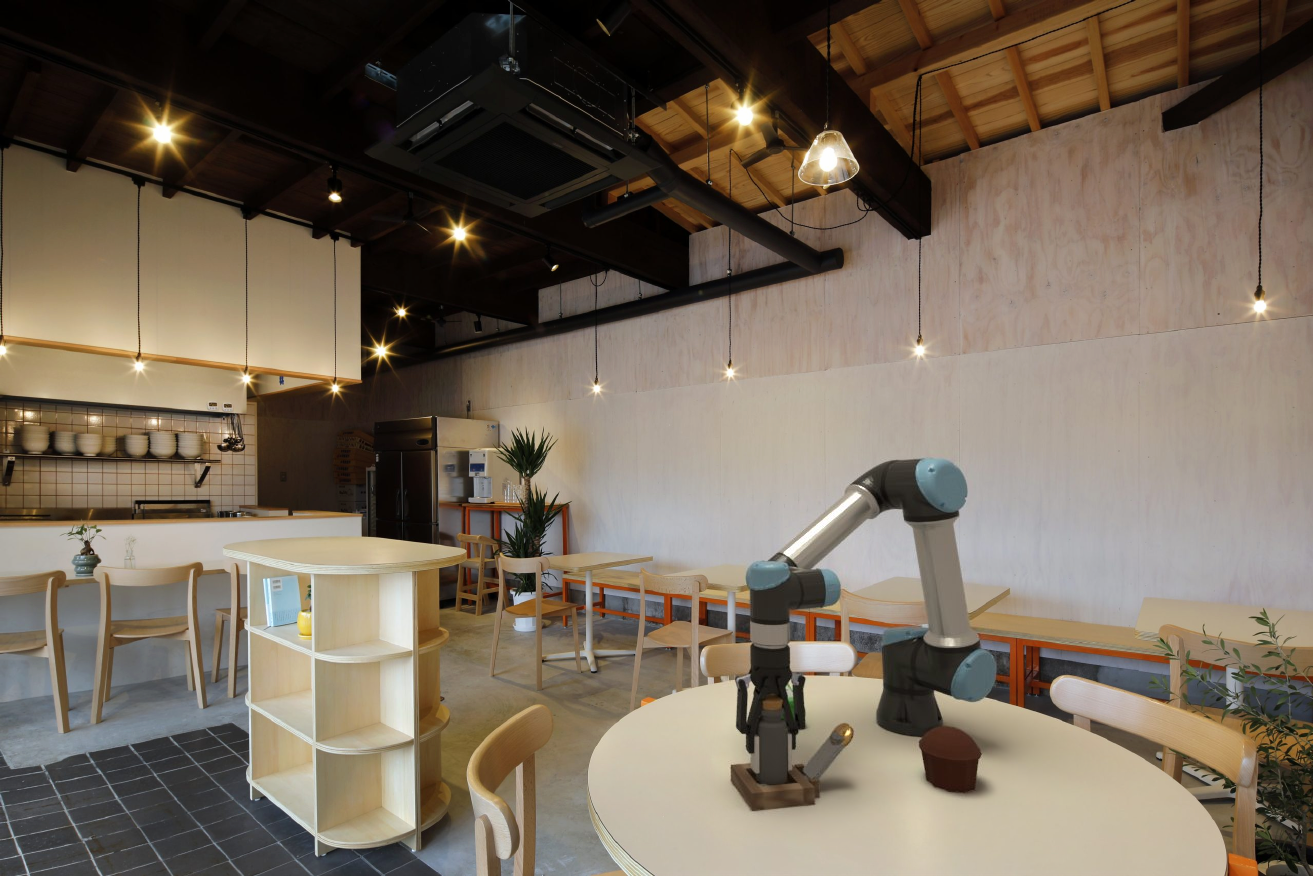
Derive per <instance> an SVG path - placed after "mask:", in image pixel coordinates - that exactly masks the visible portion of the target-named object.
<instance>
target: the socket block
mask: <svg viewBox="0 0 1313 876" xmlns="http://www.w3.org/2000/svg"><path fill="white" fill-rule="evenodd" d="M804 767H805V764H803V763H795V764H793V763H792V770H788V769H787V781H786V783H784V784H781V785H762V786H760V785H759V784H761V783H760V782H759V781H758V780H757V779H756V773H755V772H754V771H753V770H752V768H751V762H750V763H749V762H747V763H736V764H734V763H733V764H730V782H731V783H732V784H733V786H734V787H735V789H736V791H737V792H738V793H739V794H740V796H741V797H742V799H743V800H744V802H745V803H746V804H747V806H748V807H749V809H750V810H751V811H752V812H754V811H763V810H775V809H781V808H782V809H783V808H785V809H786V808H792V807H803V806H811V805H816V799H819V798H820V779H819V780H818V779H817V778H811V779H809V781H808V780H807V779H806V778H805V777H804V776H803V775H802V774H801V773H800V772H801V771H802V769H803V768H804Z"/></svg>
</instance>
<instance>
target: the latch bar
mask: <svg viewBox="0 0 1313 876" xmlns="http://www.w3.org/2000/svg"><path fill="white" fill-rule="evenodd" d="M854 735H855V731H854V728H852V727H851V725H850V724H848V723H847V722H843V723H840V724H838V725H837V726H836V727H834V729H833V730H832V731H831V733H830V735H829V736H828V737H827V738H826V740H825V741H824V742H823V744H821V746H820V747H819V749H818V750H817V751H816V752H815V753H814V754H813V755H812V757H810V759H809V760H808V762H807V763H806V764H804V766H805V767H804V768H803V769H802V771H801V772H800V773H801V774H802V775H803V776H804V777H805V778H806V779H807V780H808V781H809V779H811V778H817V779H818V780H819V781H820V778H821V777H822V776H823V775H824V774H825V772H826V771H827V770H828V769H829V768H830V766H831V765H832V764H833V763H834V761H835V760H836V759H837V758H838V756H839V755H840V754H841V752H843V750H844V749H845V748H846V747H847V746H848V745H849V744H850V743H851V742H852V740H853V738H854Z"/></svg>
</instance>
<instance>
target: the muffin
mask: <svg viewBox="0 0 1313 876" xmlns="http://www.w3.org/2000/svg"><path fill="white" fill-rule="evenodd" d="M918 747H919V749H920V752H921V757H922V762H923V767H924V774H925V779H926V782H928V783H929V784H931V785H932V786H933V787H934V788H937V789H941V790H943V791H946V792H949V793H960V794H961V793H962V794H966V793H969V792H973V791H975V790H976V783H977V777H978V775H977V774H978V767H979V761H980V759H981V758H982V755H983V753H982V751H981V748H980V746H979V745H978V743H977V742H976V741H975V739H974V738H973V737H972V736H970V735H969V734H968V733H966V732H965V731H963V730H962V729H960V728H957V727H955V726H954V727H953V726H950V725H949V726H947V725H943V726H940V727H936V728H933V729H932V730H930V731H928V732H927V733H926V734H925V735H924V736H921V738H920V739H919V741H918Z"/></svg>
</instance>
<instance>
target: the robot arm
mask: <svg viewBox="0 0 1313 876" xmlns="http://www.w3.org/2000/svg"><path fill="white" fill-rule="evenodd" d="M967 497H968V484H967V480H966V478H965V475H964V473H963V471H962V470H961V469H960V467H958V465H956V464H955V463H953V462H952V461H950V460H948V459H945V458H933V457H926V458H925V457H922V458H912V459H891V460H888V461H884V462H881V463H880V464H878V465H876V466H874V467H872V468H871V469H869V470H867V471H865V472H864V473H863V474H861V475H860V476H859V477H858V478H856V479H855V480H853V481H852V483H849V485H848V486H847V487H846V488H845V490H844V495H842V496H841V498H839V499H838V500H837V501H836V502H835V503H834V504H832V505H831V506H830V507H829V508H828V509H827V510H825V511H824V512H823V513H821V514H820V515H819V517H817V518H815V520H814V521H813V522H811V523H810V524H809V525H808V526H807V527H805V528H804V529H803V530H802V531H801V532H800V533H799V534H798V535H796V536H795V537H794V538H793V539H792V540H790V541H789V542H788V543H787V544H785V546H783V547H782V548H780V550H779V551H777V552H776V553H775V554H774V555H773V556H772V557H770V558H769V559H768V560H758V561H754V562H753V563H751V564H750V565H749V567H748V568H747V570H746V572H745V582H746V586H747V588H748V589H749V616H750V619H749V622H750V623H749V627H750V629H749V631H750V632H749V634H750V635H749V636H750V642H751V645H750V651H749V652H750V654H749V655H750V658H749V659H750V668H749V670H748V673H747V675H744V676H736V677H734V682H735V685H736V689H737V691H736V692H737V693H736V698H737V699H736V713H735V714H736V715H735V717H736V719H735V727H736V730H738V732H739V733H740V734H741V735H745V749H746V752H747V753H748V754H750V763H751V768H752V770H753V771H754V772H755V773H759V736H758V735H756V729H757V726H758V722H759V718H760V714H761V711H762V707H763V701H765V700H766V696H767V695H771V694H775V695H778V696H779V697H780V698H781V699H782V700H783V702H782V707H783V708H784V714H783V718H784V720H785V721H786V729H787V769H788V770H792V764H793V751H795V750H796V748H797V735H798V734H799V730H804V729H806V726H807V725H806V715H805V711H806V706H805V694H804V692H805V691H804V688H805V684H806V677H805V676H804V675H803V674H801V673H800V672H792V670H791V647H790V645H789V644H790V641H791V634H790V633H791V631H790V630H791V627H790V625H791V623H790V622H791V621H790V617H791V614H790V613H791V611H798V610H807V609H808V610H809V609H824V608H826V607H831V606H834V605H836V604H837V603H838V602H839V600H840V597H841V594H842V591H841V589H842V587H841V581H840V579H839V577H838V575H837V574H836V573H835V572H834V571H833V570H831V569H828V568H819V567H818V568H814V567H815V566H816V565H818V564H819V563H820V562H821V561H822V560H823V559H824V558H826V557H827V555H830V553H831V552H833V550H835V548H837V547H838V546H839V545H840V544H841V543H842V542H843V541H844V540H846V539H847V538H848V537H849V536H851V534H852V533H854V531H856V530H857V529H858V528H859V527H860V526H861V525H863V524H864V523H865V522H866V521H867V520H873V519H875V518H877V517H878V516H879V515H880V514H882V513H884V512H887V511H890V510H902V516H903V517H902V518H903V522H904V523H906V524H907V525H908V526H910V528H912V533H913V538H914V545H915V551H916V557H917V564H918V570H919V575H920V582H921V587H922V593H923V599H924V605H925V606H924V607H925V612H926V618H927V624H928V625H927V626H928V627H926V626H898V627H896V626H895V627H890V628H887V629H885V630H884V631H883V632H882V637H881V638H882V641H881V663H882V664H881V665H882V687H883V688H882V692H881V696H880V699H879V701H878V704H877V708H876V711H875V712H876V713H875V714H876V719H875V720H876V723H877V724H878V725H879V726H880V727H882V728H884V729H885V730H888V731H890V732H893V733H897V734H901V735H907V736H912V737H923V736H924V735H925V734H926V733H927V732H928V731H930V730H932V729H933V728H936V727H940V726H944V719H943V716H942V713H941V709H940V707H939V704H938V702H937V699H936V695H935V692H938V693H941V694H942V695H946V696H949V697H951V698H953V699H954V700H960V701H964V702H968V703H977V702H980V701H982V700H983V699H984V698H985V697H987V696H988V695H989V693H990V692H991V691H992V688H993V686H994V685H995V681H996V678H997V662H996V659H995V657H994V655H992V653H991V652H990V651H988V650H986V649H983V648H982V646H981V640H980V639H981V638H980V635H979V634H978V633H977V632H976V631H975V630H973V629H972V628H971V623H970V618H969V612H968V605H967V600H966V594H965V587H964V581H963V576H962V575H963V574H962V569H961V563H960V558H959V551H958V545H957V544H958V543H957V539H956V538H957V537H956V531H955V525H954V524H955V522H956V521H957V519H959V517H960V510H961V509H962V508H963V507H964V505H965V504H966V501H967V500H966V498H967ZM790 681H791V682H790ZM789 682H790V683H791V684H792V687H791V689H792V690H793V704H794V718H793V714H792V711H791V708H790V704H789V701H788V695H787V691H786V686H787V684H789ZM750 683H752V684H753V686H754V689H753V692H752V693H753V696H752V697H753V698H752V701H751V704H750V708H749V712H748V701H749V694H748V693H749V692H748V689H749V688H750ZM804 706H805V707H804ZM794 720H795V721H794Z"/></svg>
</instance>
